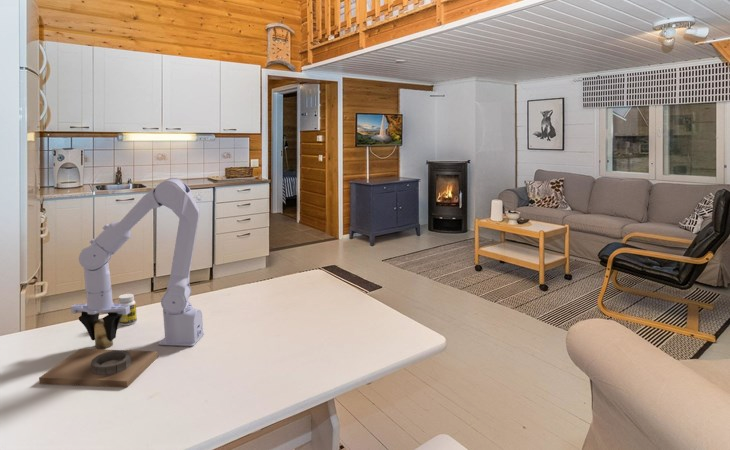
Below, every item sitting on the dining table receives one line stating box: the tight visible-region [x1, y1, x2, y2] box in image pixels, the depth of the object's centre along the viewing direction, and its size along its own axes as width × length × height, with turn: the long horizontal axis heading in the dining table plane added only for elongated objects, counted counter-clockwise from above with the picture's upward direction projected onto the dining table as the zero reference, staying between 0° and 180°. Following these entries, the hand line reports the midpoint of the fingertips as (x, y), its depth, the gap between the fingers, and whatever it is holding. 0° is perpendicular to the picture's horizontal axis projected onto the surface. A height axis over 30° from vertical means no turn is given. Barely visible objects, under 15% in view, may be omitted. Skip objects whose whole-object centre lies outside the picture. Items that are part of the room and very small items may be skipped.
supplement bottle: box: [117, 293, 138, 326], centre depth 132 cm, size 5×5×8 cm
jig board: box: [38, 348, 159, 388], centre depth 106 cm, size 20×14×4 cm
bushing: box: [93, 317, 114, 350], centre depth 118 cm, size 4×4×7 cm
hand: (103, 338), depth 118 cm, fingers closed on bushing, 4 cm apart
